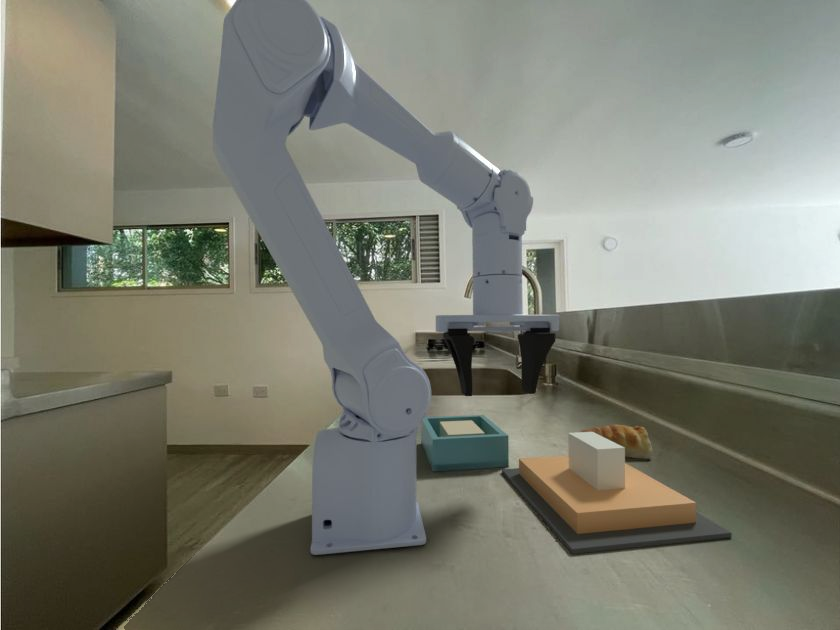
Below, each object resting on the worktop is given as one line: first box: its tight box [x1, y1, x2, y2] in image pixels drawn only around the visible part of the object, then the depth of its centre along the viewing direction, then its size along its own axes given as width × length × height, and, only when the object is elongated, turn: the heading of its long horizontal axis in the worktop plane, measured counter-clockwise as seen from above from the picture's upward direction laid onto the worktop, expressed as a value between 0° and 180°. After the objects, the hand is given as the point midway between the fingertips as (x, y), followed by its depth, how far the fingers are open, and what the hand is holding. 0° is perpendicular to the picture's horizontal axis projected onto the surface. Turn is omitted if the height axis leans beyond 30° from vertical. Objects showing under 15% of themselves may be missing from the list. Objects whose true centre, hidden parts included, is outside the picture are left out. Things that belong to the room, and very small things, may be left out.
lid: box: [518, 431, 697, 534], centre depth 36 cm, size 12×12×6 cm
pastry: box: [580, 424, 653, 460], centre depth 51 cm, size 9×7×4 cm
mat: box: [501, 467, 733, 555], centre depth 36 cm, size 15×15×1 cm
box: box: [420, 414, 510, 473], centre depth 48 cm, size 10×10×4 cm
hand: (498, 393), depth 40 cm, fingers open, 7 cm apart
